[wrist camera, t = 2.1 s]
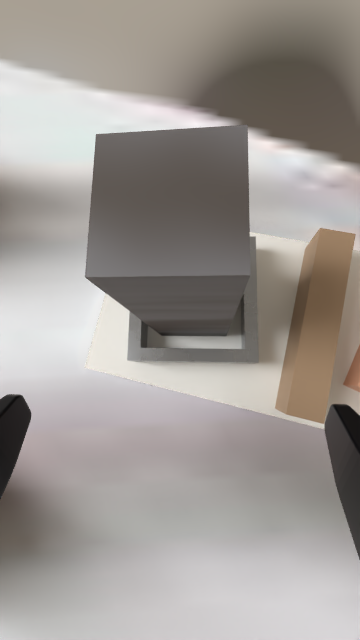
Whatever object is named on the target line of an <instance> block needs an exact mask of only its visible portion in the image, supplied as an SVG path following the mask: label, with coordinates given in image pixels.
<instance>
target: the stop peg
mask: <svg viewBox="0 0 360 640" xmlns="http://www.w3.org/2000/svg"><path fill="white" fill-rule="evenodd" d="M85 277H86V278H87V279H88V280H89V281H91V282H92V283H93V284H95V285H96V286H97V287H99V288H100V289H101V290H103V291H104V292H105V293H106V294H108V295H109V296H110V297H112V298H113V299H114V300H116V301H117V302H118V303H120V304H121V305H122V306H123V307H125V308H126V309H127V310H129V311H130V312H131V313H133V314H134V315H135V316H137V317H138V318H139V319H140V320H142V321H143V322H144V323H146V324H147V325H148V326H150V327H151V328H152V329H154V330H155V331H156V332H157V333H159V334H160V335H161V336H227V333H228V331H229V328H230V326H231V323H232V321H233V318H234V316H235V313H236V311H237V308H238V306H239V303H240V300H241V298H242V295H243V293H244V290H245V288H246V285H247V283H248V280H249V278H250V228H249V179H248V130H247V125H237V126H221V127H205V128H189V129H173V130H157V131H141V132H126V133H110V134H96V142H95V155H94V168H93V181H92V194H91V207H90V220H89V233H88V246H87V259H86V272H85Z"/></svg>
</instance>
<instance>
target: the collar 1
mask: <svg viewBox="0 0 360 640" xmlns="http://www.w3.org/2000/svg"><path fill="white" fill-rule="evenodd" d="M147 337H148V325H147V324H146V323H144V322H143V321H142V320H140V319H139V318H138V317H137V316H135V315H134V314H133V313H131V312H130V313H129V333H128V353H127V361H133V362H178V363H238V364H255V363H259V351H258V309H257V268H256V236H250V278H249V280H248V283H247V285H246V288H245V290H244V293H243V295H242V298H241V342H242V349H202V348H147Z"/></svg>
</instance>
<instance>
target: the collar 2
mask: <svg viewBox="0 0 360 640" xmlns="http://www.w3.org/2000/svg"><path fill="white" fill-rule="evenodd" d="M343 385H345V386H347V387H349V388H351V389H353V390H356V391H358V392H360V345H359V347H358V349H357V352H356V354H355V357H354V359H353V362H352V364H351V366H350V369H349V371H348V374H347V376H346V378H345V381H344V383H343Z"/></svg>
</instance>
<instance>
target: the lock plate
mask: <svg viewBox="0 0 360 640" xmlns="http://www.w3.org/2000/svg"><path fill="white" fill-rule="evenodd" d="M250 236H256V268H257V309H258V351H259V363H255V364H238V363H178V362H133V361H127V353H128V333H129V313H130V311H129V310H127V309H126V308H125V307H123V306H122V305H121V304H120V303H118V302H117V301H116V300H114V299H113V298H112V297H110V296H109V295H108V294H105V297H104V301H103V304H102V308H101V311H100V315H99V318H98V322H97V325H96V329H95V332H94V336H93V339H92V343H91V346H90V350H89V353H88V357H87V360H86V364H85V367H84V368H87V369H91V370H95V371H99V372H103V373H107V374H111V375H115V376H119V377H123V378H126V379H130V380H134V381H138V382H142V383H146V384H150V385H154V386H158V387H161V388H165V389H169V390H173V391H177V392H181V393H185V394H189V395H193V396H196V397H200V398H204V399H208V400H212V401H216V402H220V403H224V404H228V405H232V406H235V407H239V408H243V409H247V410H251V411H255V412H259V413H263V414H267V415H270V416H274V417H278V418H282V419H286V420H290V421H294V422H298V423H302V424H306V425H309V426H313V427H317V428H321V429H325V428H324V424H325V420H326V417H327V414H328V411H329V408H330V406H331V405H332V404H347V405H349V406H350V407H351V408H352V409H354V410H355V411H356V412H357V413H358V414H359V415H360V392H358V391H356V390H353V389H351V388H349V387H347V386H345V385H343V383H344V381H345V378H346V376H347V374H348V371H349V369H350V366H351V364H352V362H353V359H354V357H355V354H356V352H357V349H358V347H359V345H360V251H356V250H353V246H354V240H355V234H352V233H346V232H340V231H334V230H328V229H322V228H320V229H319V230H318V232H317V233H316V234H315V236H314V237H313V238H312V240H311V241H310V242H305V241H299V240H293V239H288V238H282V237H276V236H270V235H265V234H259V233H253V232H250ZM147 348H202V349H242V342H241V300H240V303H239V306H238V308H237V311H236V313H235V316H234V318H233V321H232V323H231V326H230V328H229V331H228V333H227V336H161V335H160V334H159V333H157V332H156V331H155V330H154V329H152V328H151V327H150V326H148V337H147Z"/></svg>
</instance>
